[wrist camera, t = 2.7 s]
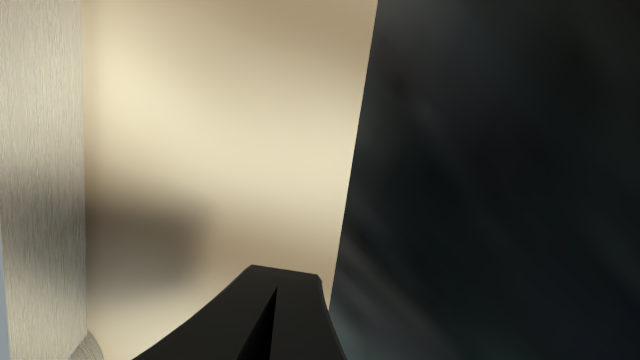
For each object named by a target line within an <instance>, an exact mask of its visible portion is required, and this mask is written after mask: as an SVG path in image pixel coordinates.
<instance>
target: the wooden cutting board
mask: <svg viewBox="0 0 640 360" xmlns="http://www.w3.org/2000/svg"><path fill="white" fill-rule="evenodd" d="M377 2H378V0H81V27H82V78H83V129H84V181H85V232H86V283H87V329H88V330H89V332H90V333H91V334H92V335H93V336H94V338H95V339H96V341H97V342H98V344H99V346H100V348H101V350H102V353H103V356H104V360H132V359H133V358H135V357H136V356H138V355H139V354H141V353H142V352H144V351H145V350H147V349H148V348H150V347H151V346H153V345H154V344H156V343H157V342H158V341H160V340H161V339H162V338H164V337H165V336H167V335H168V334H169V333H171V332H172V331H173V330H175V329H176V328H177V327H179V326H180V325H182V324H183V323H184V322H185V321H187V320H188V319H189V318H191V317H192V316H193V315H194V314H195V313H197V312H198V311H199V310H200V309H201V308H203V307H204V306H205V305H206V304H207V303H209V302H210V301H211V300H212V299H213V298H214V297H216V296H217V295H218V294H219V293H220V292H221V291H222V290H223V289H225V288H226V287H227V286H228V285H229V284H230V283H231V282H232V281H233V280H234V279H235V278H236V277H237V276H238V275H239V274H240V273H241V272H242V271H243V270H244V269H246V268H247V267H249V266H250V265H252V264H253V265H260V266H266V267H273V268H279V269H286V270H292V271H299V272H305V273H312V274H317V275H318V276H319V277H320V279H321V280H322V287H323V293H324V298H325V302H326V305H327V309H329V303H330V297H331V291H332V284H333V278H334V272H335V266H336V259H337V253H338V247H339V241H340V234H341V228H342V222H343V215H344V209H345V203H346V197H347V190H348V184H349V178H350V172H351V165H352V159H353V153H354V147H355V140H356V134H357V128H358V121H359V115H360V109H361V103H362V96H363V90H364V84H365V78H366V71H367V65H368V59H369V52H370V46H371V40H372V34H373V27H374V21H375V15H376V9H377Z"/></svg>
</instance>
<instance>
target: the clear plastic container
mask: <svg viewBox="0 0 640 360" xmlns="http://www.w3.org/2000/svg"><path fill="white" fill-rule="evenodd" d="M0 360H104V356H103V353H102V350H101V348H100V346H99V344H98V342H97V341H96V339H95V338H94V336H93V335H92V334H91V333H90V332H89V330H88V329H87V283H86V232H85V181H84V129H83V78H82V27H81V0H0Z"/></svg>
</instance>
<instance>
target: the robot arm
mask: <svg viewBox="0 0 640 360" xmlns="http://www.w3.org/2000/svg"><path fill="white" fill-rule="evenodd" d="M132 360H347V358H346V356H345V354H344V351H343V349H342V347H341V344H340V342H339V339H338V337H337V334H336V332H335V329H334V327H333V324H332V321H331V318H330V315H329V312H328V309H327V305H326V302H325V298H324V293H323V287H322V280H321V279H320V277H319V276H318V275H317V274H312V273H305V272H299V271H292V270H286V269H279V268H273V267H266V266H260V265H253V264H252V265H250V266H249V267H247V268H246V269H244V270H243V271H242V272H241V273H240V274H239V275H238V276H237V277H236V278H235V279H234V280H233V281H232V282H231V283H230V284H229V285H228V286H227V287H226V288H225V289H223V290H222V291H221V292H220V293H219V294H218V295H217V296H216V297H214V298H213V299H212V300H211V301H210V302H209V303H207V304H206V305H205V306H204V307H203V308H201V309H200V310H199V311H198V312H197V313H195V314H194V315H193V316H192V317H191V318H189V319H188V320H187V321H185V322H184V323H183V324H182V325H180V326H179V327H177V328H176V329H175V330H173V331H172V332H171V333H169V334H168V335H167V336H165V337H164V338H162V339H161V340H160V341H158V342H157V343H156V344H154V345H153V346H151V347H150V348H148V349H147V350H145V351H144V352H142V353H141V354H139V355H138V356H136V357H135V358H133V359H132Z"/></svg>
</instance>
